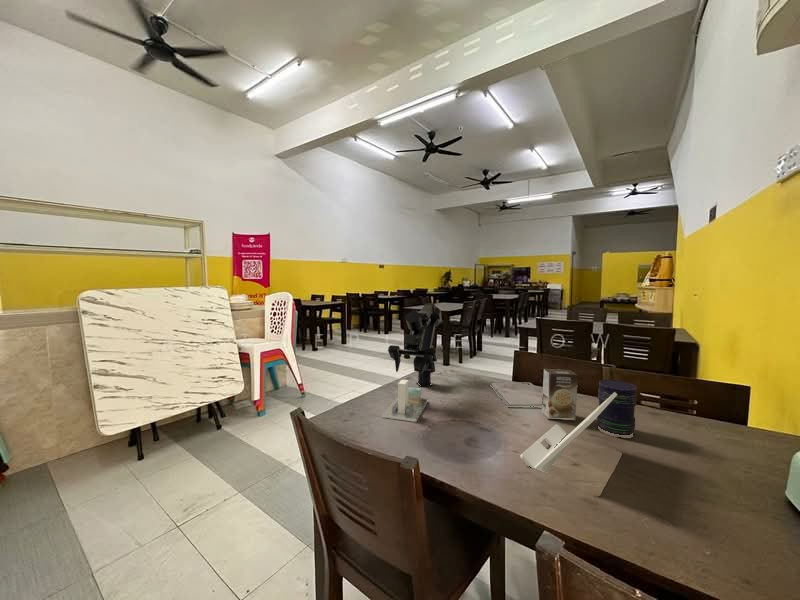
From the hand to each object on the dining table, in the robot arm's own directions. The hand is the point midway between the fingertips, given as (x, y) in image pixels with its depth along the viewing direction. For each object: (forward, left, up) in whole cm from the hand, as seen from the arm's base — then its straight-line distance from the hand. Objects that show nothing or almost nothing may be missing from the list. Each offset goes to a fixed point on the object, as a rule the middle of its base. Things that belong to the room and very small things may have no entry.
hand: (408, 372), depth 118 cm
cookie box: (+20, +49, -13) cm, 54 cm away
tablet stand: (+43, +34, -13) cm, 56 cm away
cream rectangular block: (+6, -3, -12) cm, 14 cm away
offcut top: (-4, +2, -10) cm, 11 cm away
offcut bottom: (-4, +2, -12) cm, 13 cm away
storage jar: (+33, +59, -13) cm, 68 cm away
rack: (+2, -1, -13) cm, 13 cm away
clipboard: (-3, +49, -14) cm, 51 cm away
